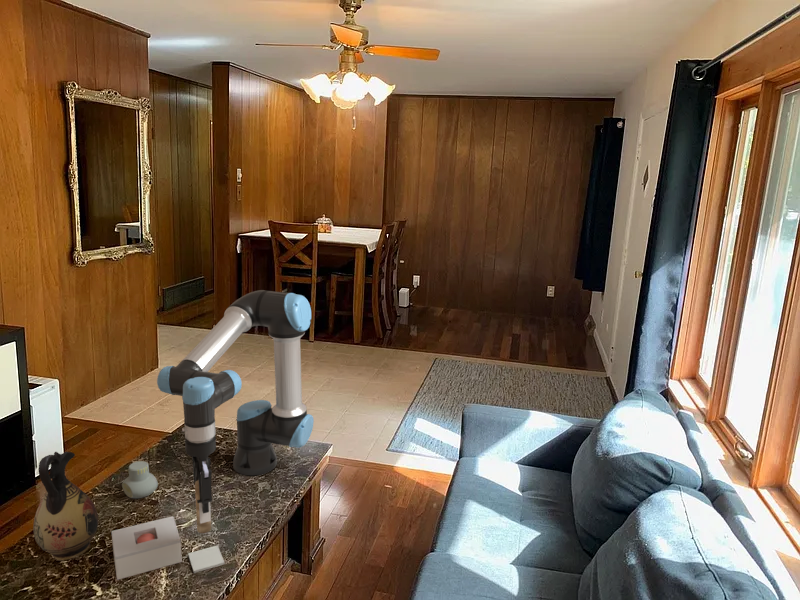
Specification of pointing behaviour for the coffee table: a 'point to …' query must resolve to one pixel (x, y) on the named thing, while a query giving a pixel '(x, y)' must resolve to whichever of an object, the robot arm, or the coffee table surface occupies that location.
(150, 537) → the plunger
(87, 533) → the ceramic jug
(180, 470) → the coffee table surface
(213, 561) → the pad
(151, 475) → the air freshener
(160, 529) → the box
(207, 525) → the tan wooden rod
